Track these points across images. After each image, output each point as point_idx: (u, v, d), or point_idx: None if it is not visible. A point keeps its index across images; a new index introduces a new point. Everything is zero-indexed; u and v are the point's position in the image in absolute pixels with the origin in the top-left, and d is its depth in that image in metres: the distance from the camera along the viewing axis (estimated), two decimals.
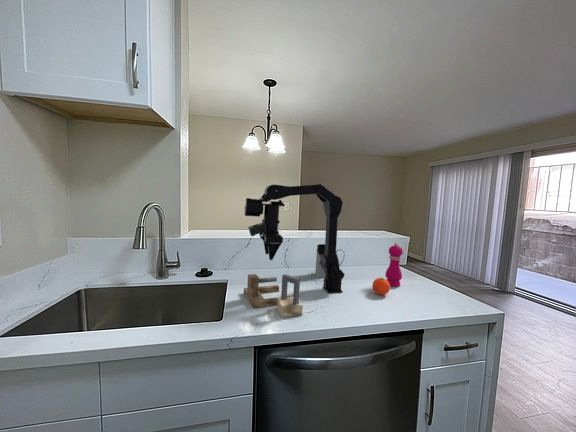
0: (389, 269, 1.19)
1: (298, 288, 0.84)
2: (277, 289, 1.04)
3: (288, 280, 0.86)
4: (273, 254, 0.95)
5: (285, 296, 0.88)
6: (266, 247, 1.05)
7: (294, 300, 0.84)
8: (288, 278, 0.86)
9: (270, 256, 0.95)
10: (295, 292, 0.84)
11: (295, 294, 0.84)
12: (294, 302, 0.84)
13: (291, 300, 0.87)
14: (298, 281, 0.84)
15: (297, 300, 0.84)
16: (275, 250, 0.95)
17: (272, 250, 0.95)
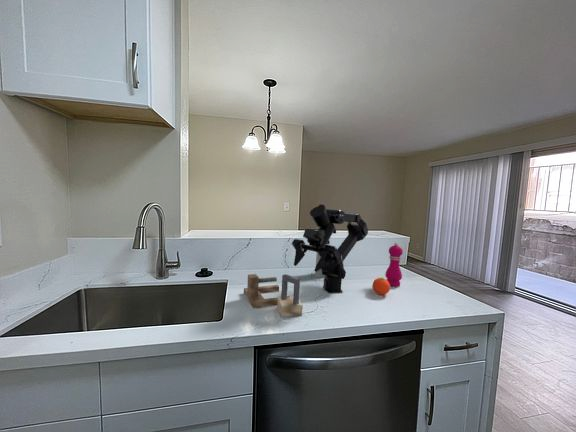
0: (389, 269, 1.19)
1: (298, 288, 0.84)
2: (277, 289, 1.04)
3: (288, 280, 0.86)
4: (320, 267, 0.90)
5: (285, 296, 0.88)
6: (297, 258, 0.96)
7: (294, 300, 0.84)
8: (288, 278, 0.86)
9: (318, 267, 0.89)
10: (295, 292, 0.84)
11: (295, 294, 0.84)
12: (294, 302, 0.84)
13: (291, 300, 0.87)
14: (298, 281, 0.84)
15: (297, 300, 0.84)
16: (324, 264, 0.90)
17: (323, 262, 0.90)
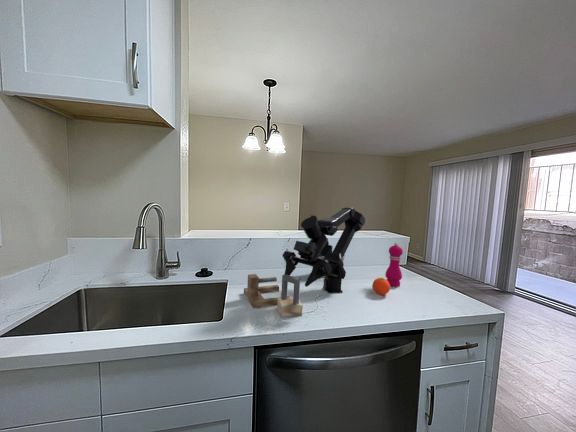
0: (389, 269, 1.19)
1: (298, 288, 0.84)
2: (277, 289, 1.04)
3: (288, 280, 0.86)
4: (311, 281, 0.86)
5: (285, 296, 0.88)
6: (288, 272, 0.92)
7: (294, 300, 0.84)
8: (288, 278, 0.86)
9: (308, 282, 0.85)
10: (295, 292, 0.84)
11: (295, 294, 0.84)
12: (294, 302, 0.84)
13: (291, 300, 0.87)
14: (298, 281, 0.84)
15: (297, 300, 0.84)
16: (315, 279, 0.87)
17: (313, 277, 0.86)
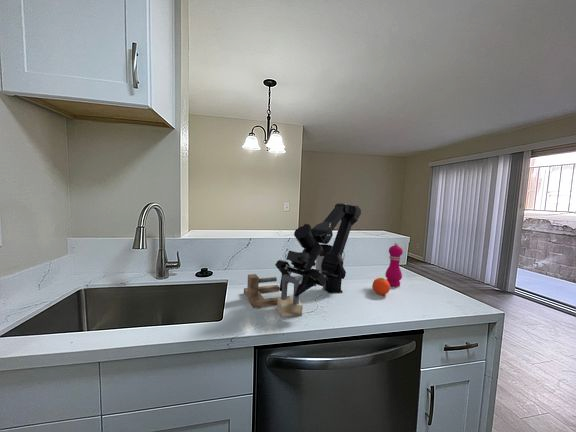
0: (389, 269, 1.19)
1: None
2: (277, 289, 1.04)
3: (288, 280, 0.86)
4: (301, 292, 0.84)
5: (285, 296, 0.88)
6: None
7: (294, 300, 0.84)
8: (288, 278, 0.86)
9: (298, 292, 0.83)
10: (295, 292, 0.84)
11: None
12: (294, 302, 0.84)
13: (291, 300, 0.87)
14: (298, 281, 0.84)
15: (297, 300, 0.84)
16: (305, 289, 0.85)
17: (304, 287, 0.84)
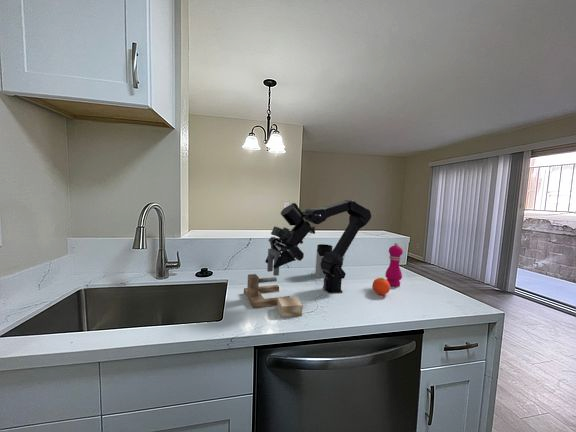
0: (389, 269, 1.19)
1: None
2: (277, 289, 1.04)
3: (271, 253, 0.93)
4: (280, 264, 0.90)
5: (271, 268, 0.96)
6: None
7: (274, 271, 0.91)
8: (271, 251, 0.93)
9: (276, 264, 0.90)
10: None
11: None
12: (274, 273, 0.91)
13: (291, 300, 0.87)
14: (277, 254, 0.91)
15: (277, 272, 0.91)
16: (284, 262, 0.91)
17: (282, 260, 0.90)
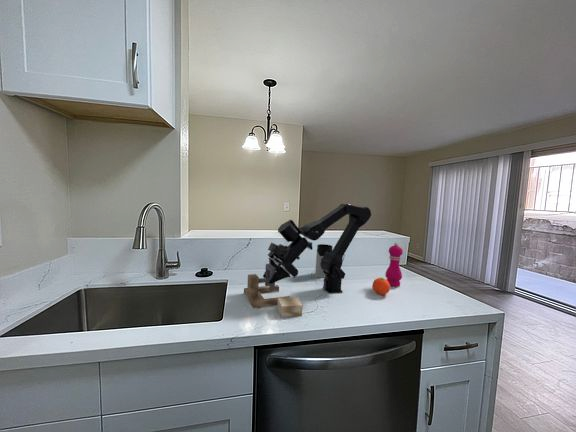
0: (389, 269, 1.19)
1: None
2: (277, 289, 1.04)
3: (268, 268, 0.96)
4: (275, 280, 0.93)
5: (268, 282, 0.99)
6: None
7: (270, 286, 0.94)
8: (268, 266, 0.96)
9: (272, 279, 0.93)
10: None
11: None
12: (270, 288, 0.94)
13: (291, 300, 0.87)
14: (273, 270, 0.93)
15: (272, 287, 0.94)
16: (280, 278, 0.93)
17: (278, 276, 0.93)
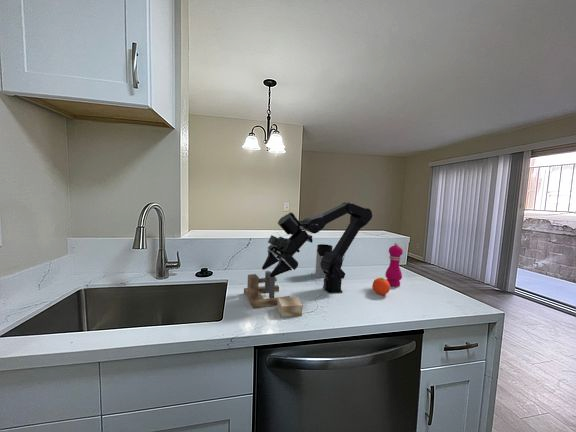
0: (389, 269, 1.19)
1: (273, 284, 0.94)
2: (277, 289, 1.04)
3: (267, 276, 0.97)
4: (276, 273, 0.92)
5: (268, 290, 0.99)
6: (267, 263, 1.01)
7: (269, 294, 0.95)
8: (267, 274, 0.97)
9: (273, 273, 0.91)
10: (270, 287, 0.94)
11: (270, 289, 0.94)
12: (269, 296, 0.95)
13: (291, 300, 0.87)
14: (272, 278, 0.94)
15: (272, 295, 0.94)
16: (281, 271, 0.92)
17: (279, 269, 0.92)
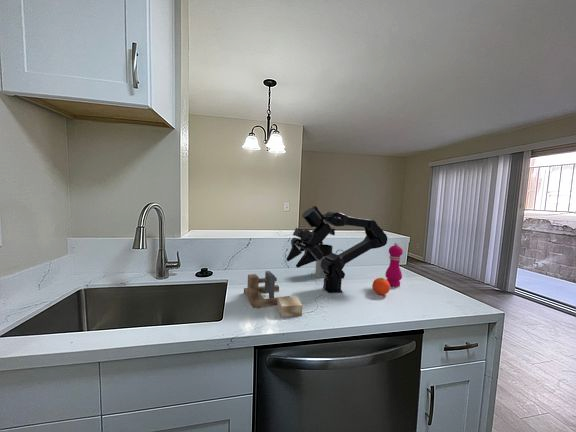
0: (389, 269, 1.19)
1: (273, 284, 0.94)
2: (277, 289, 1.04)
3: (267, 276, 0.97)
4: (302, 264, 0.96)
5: (268, 290, 0.99)
6: (291, 255, 1.05)
7: (269, 294, 0.94)
8: (267, 274, 0.97)
9: (299, 263, 0.95)
10: (270, 287, 0.94)
11: (270, 289, 0.94)
12: (269, 296, 0.94)
13: (291, 300, 0.87)
14: (272, 278, 0.94)
15: (272, 295, 0.94)
16: (307, 262, 0.96)
17: (305, 260, 0.96)
